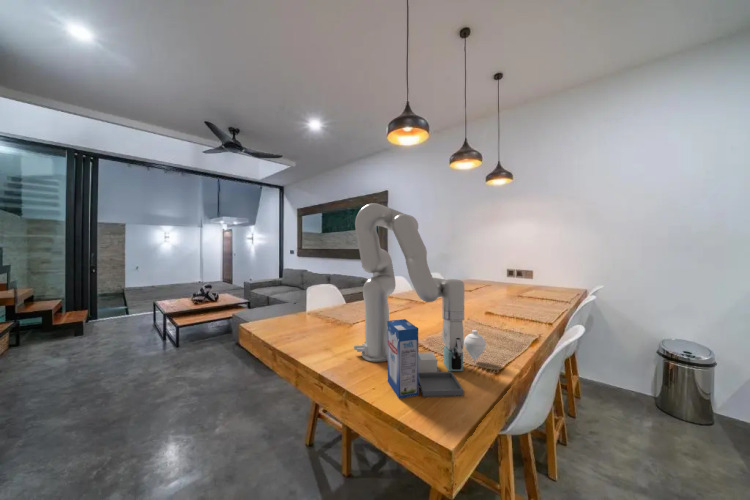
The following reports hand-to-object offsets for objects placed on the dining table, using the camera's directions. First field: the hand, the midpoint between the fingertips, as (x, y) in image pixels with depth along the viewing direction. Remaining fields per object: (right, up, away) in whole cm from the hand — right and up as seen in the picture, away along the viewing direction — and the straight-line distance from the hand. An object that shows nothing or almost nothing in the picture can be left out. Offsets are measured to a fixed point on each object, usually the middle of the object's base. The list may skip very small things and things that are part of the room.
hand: (453, 364), depth 97 cm
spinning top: (+9, -1, +4) cm, 10 cm away
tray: (-8, -2, -12) cm, 15 cm away
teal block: (0, -1, 0) cm, 1 cm away
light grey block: (-11, -1, 0) cm, 11 cm away
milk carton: (-20, -2, -13) cm, 24 cm away
